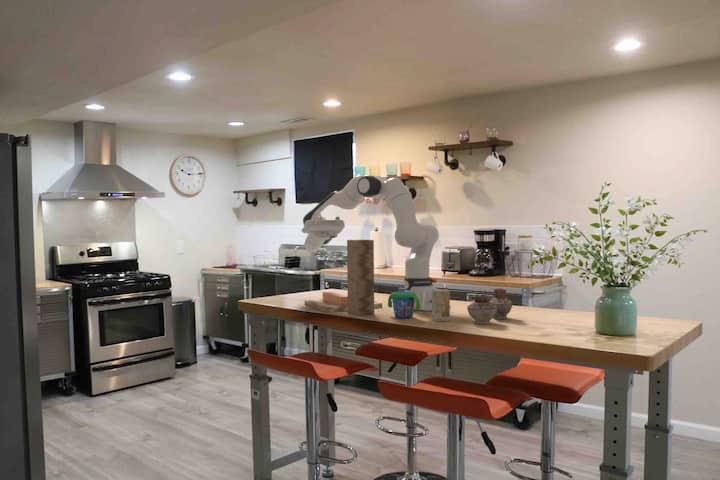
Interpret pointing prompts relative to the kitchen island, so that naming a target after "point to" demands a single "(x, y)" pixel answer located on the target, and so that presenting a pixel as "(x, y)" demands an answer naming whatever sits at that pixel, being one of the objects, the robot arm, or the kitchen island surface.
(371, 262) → the walnut stand
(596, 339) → the kitchen island surface
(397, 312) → the snack cup
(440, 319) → the skincare box
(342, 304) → the terracotta rail
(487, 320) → the pottery
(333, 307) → the oak base board
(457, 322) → the kitchen island surface
